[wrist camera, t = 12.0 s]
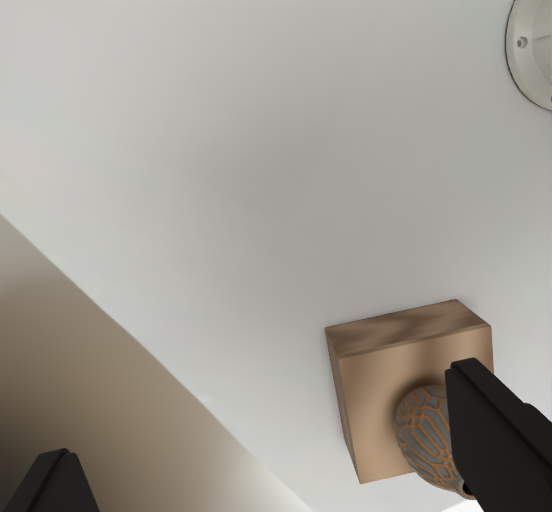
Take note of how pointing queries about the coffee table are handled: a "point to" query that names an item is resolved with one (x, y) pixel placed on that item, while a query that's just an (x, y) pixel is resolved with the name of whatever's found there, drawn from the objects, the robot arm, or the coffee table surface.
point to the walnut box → (396, 373)
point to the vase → (428, 438)
